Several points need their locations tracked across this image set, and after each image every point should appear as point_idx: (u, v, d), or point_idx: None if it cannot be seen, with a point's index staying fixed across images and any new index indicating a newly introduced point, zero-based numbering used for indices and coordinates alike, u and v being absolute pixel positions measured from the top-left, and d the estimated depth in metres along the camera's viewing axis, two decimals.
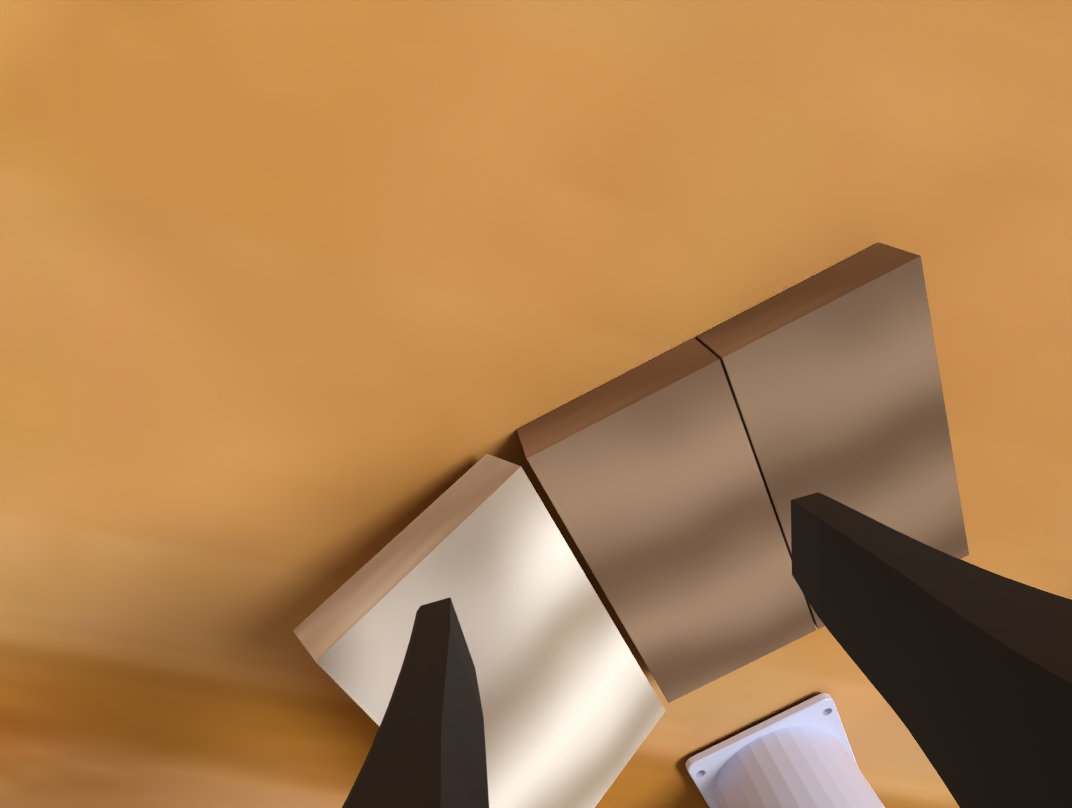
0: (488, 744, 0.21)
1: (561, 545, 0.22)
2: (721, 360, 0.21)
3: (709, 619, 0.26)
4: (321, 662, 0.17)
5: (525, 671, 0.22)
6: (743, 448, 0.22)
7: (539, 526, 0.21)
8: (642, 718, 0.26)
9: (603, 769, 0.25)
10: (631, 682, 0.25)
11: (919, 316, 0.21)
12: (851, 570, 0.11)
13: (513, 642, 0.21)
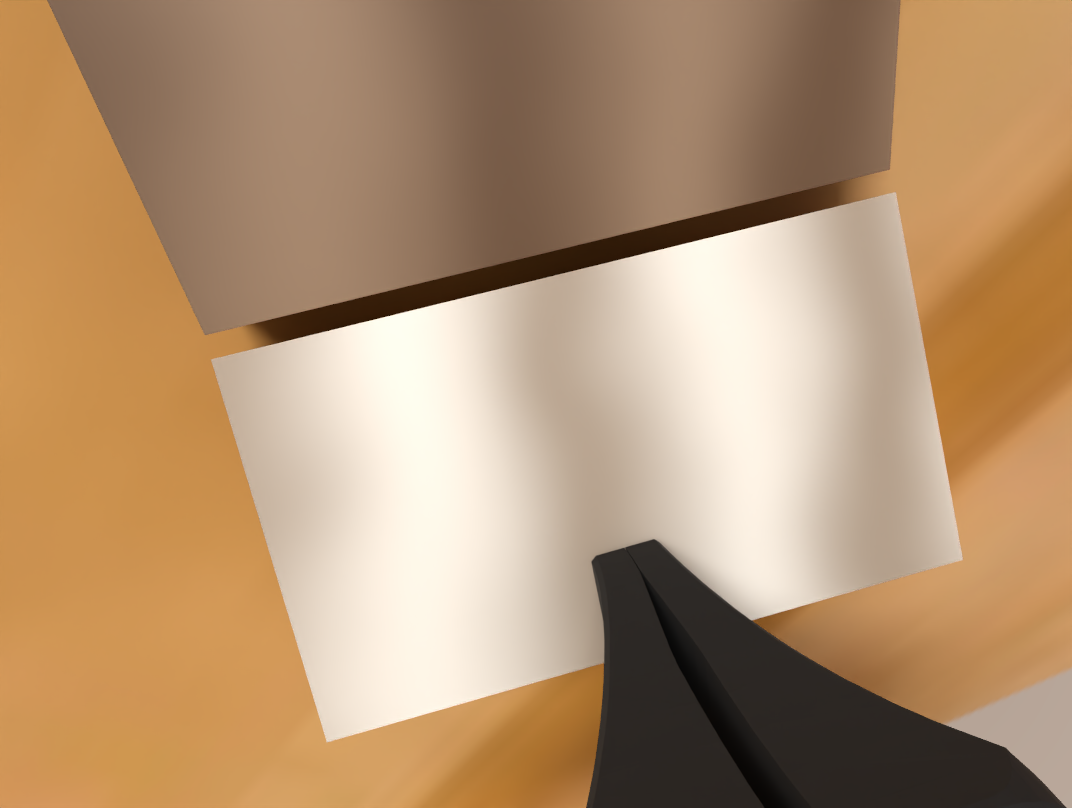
0: None
1: (394, 325, 0.13)
2: None
3: (718, 37, 0.12)
4: (332, 736, 0.13)
5: (571, 463, 0.13)
6: None
7: (334, 358, 0.12)
8: (861, 254, 0.13)
9: (881, 372, 0.14)
10: (766, 256, 0.13)
11: None
12: (665, 626, 0.11)
13: (504, 467, 0.13)
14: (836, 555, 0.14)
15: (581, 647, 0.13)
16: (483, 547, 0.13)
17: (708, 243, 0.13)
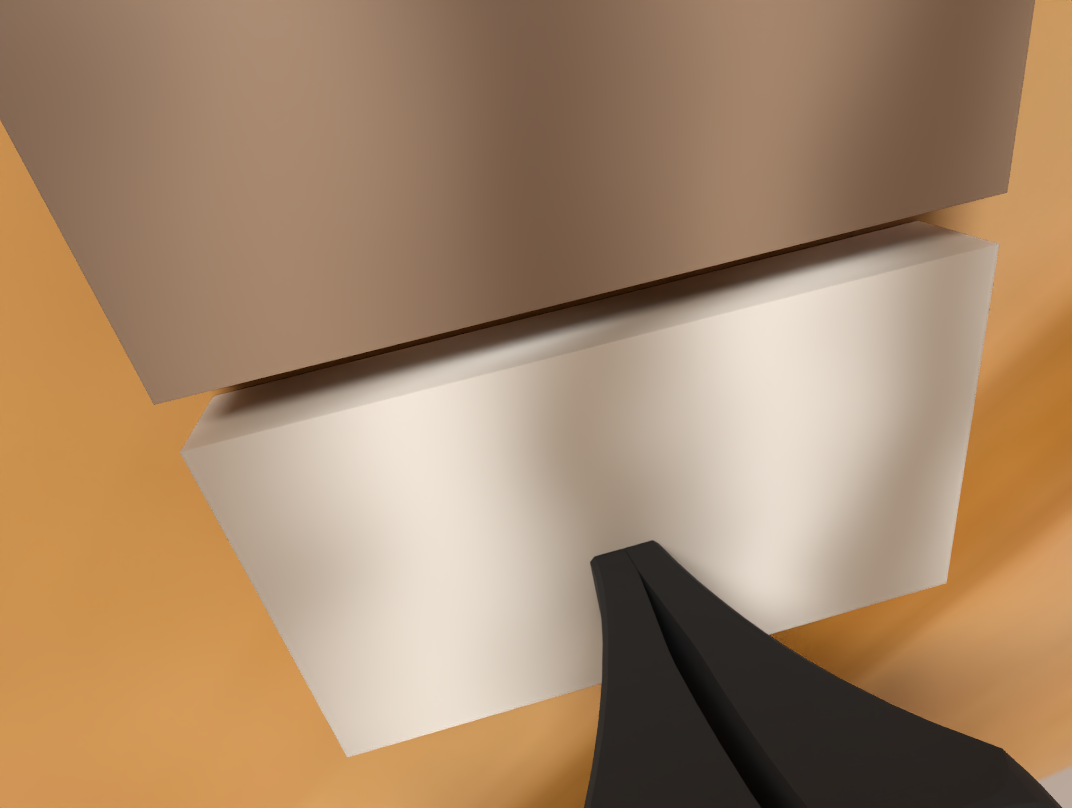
0: None
1: (401, 407, 0.10)
2: None
3: (810, 26, 0.09)
4: (351, 753, 0.14)
5: (594, 529, 0.12)
6: None
7: (332, 444, 0.11)
8: (940, 314, 0.12)
9: (923, 431, 0.13)
10: (838, 319, 0.11)
11: None
12: (663, 627, 0.11)
13: (523, 537, 0.12)
14: (835, 587, 0.14)
15: (588, 672, 0.14)
16: (499, 605, 0.13)
17: (777, 307, 0.11)
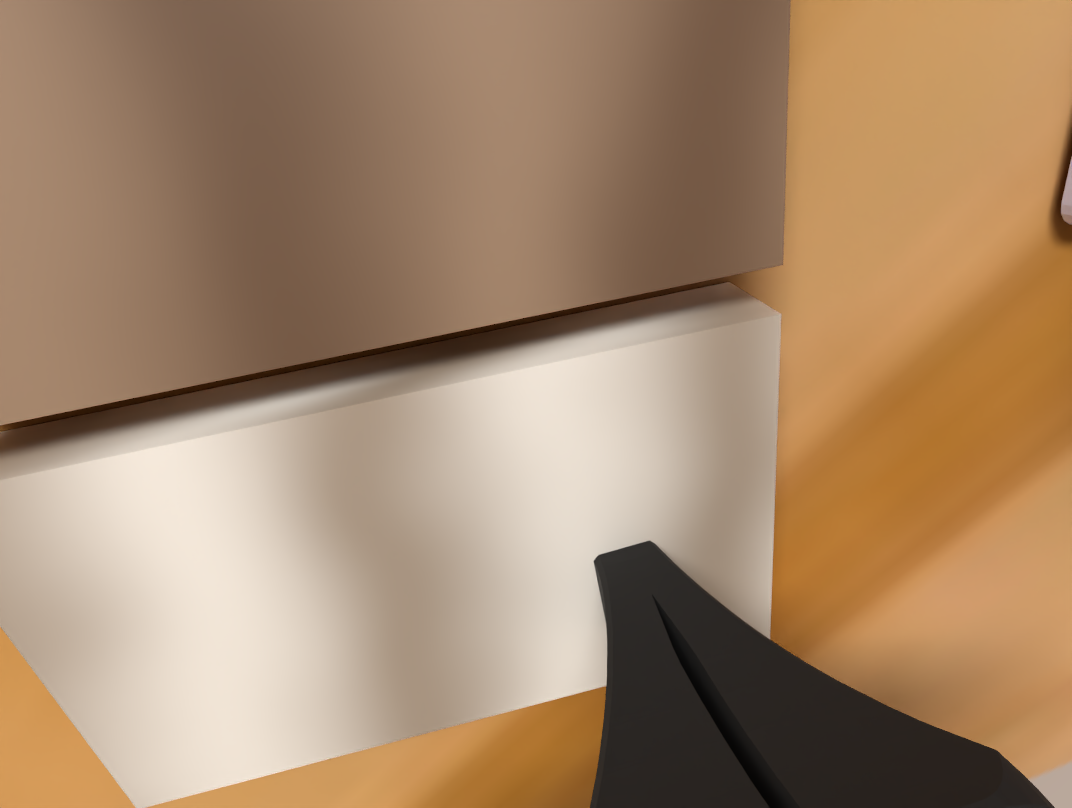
0: (456, 660, 0.13)
1: (151, 460, 0.10)
2: None
3: (551, 96, 0.09)
4: (141, 805, 0.13)
5: (381, 585, 0.12)
6: None
7: (77, 495, 0.10)
8: (728, 380, 0.11)
9: (725, 495, 0.13)
10: (619, 382, 0.11)
11: None
12: None
13: (305, 592, 0.12)
14: None
15: (394, 726, 0.14)
16: (287, 659, 0.12)
17: (550, 370, 0.11)
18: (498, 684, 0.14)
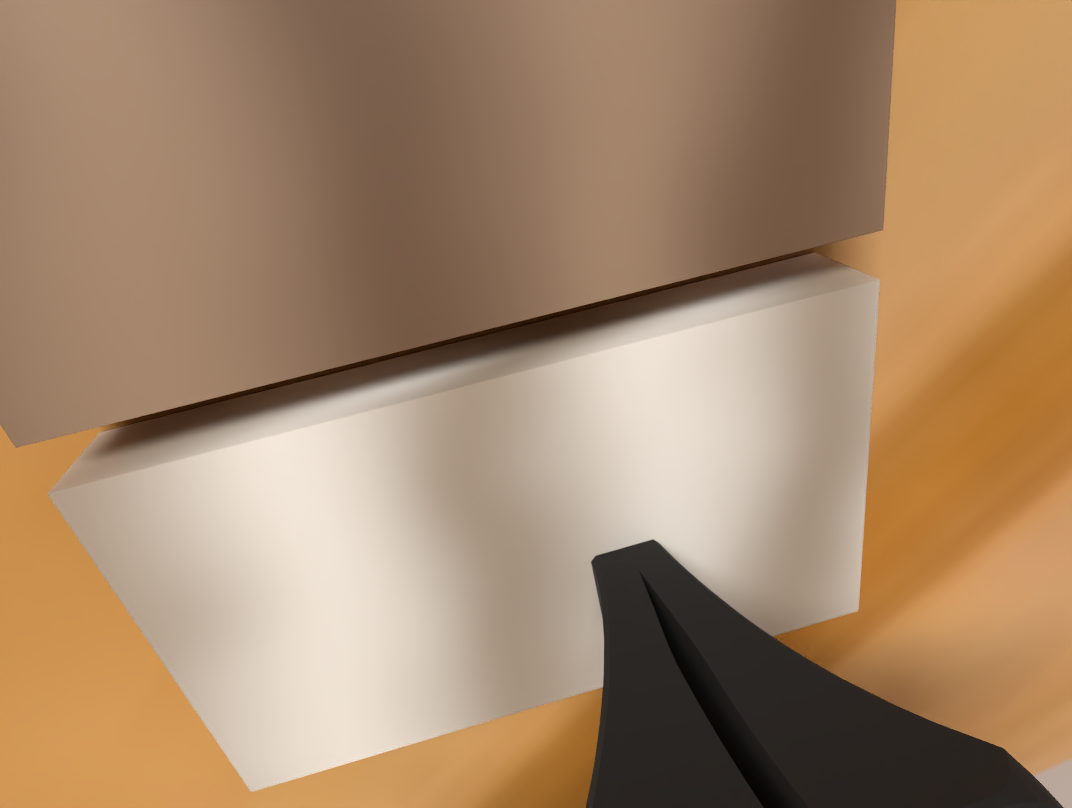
0: (556, 636, 0.13)
1: (275, 446, 0.10)
2: None
3: (664, 70, 0.09)
4: (255, 788, 0.14)
5: (487, 564, 0.12)
6: None
7: (206, 484, 0.10)
8: (826, 348, 0.12)
9: (820, 463, 0.13)
10: (720, 354, 0.11)
11: None
12: (664, 627, 0.11)
13: (415, 573, 0.12)
14: None
15: (495, 704, 0.14)
16: (396, 639, 0.13)
17: (656, 344, 0.11)
18: (595, 659, 0.14)
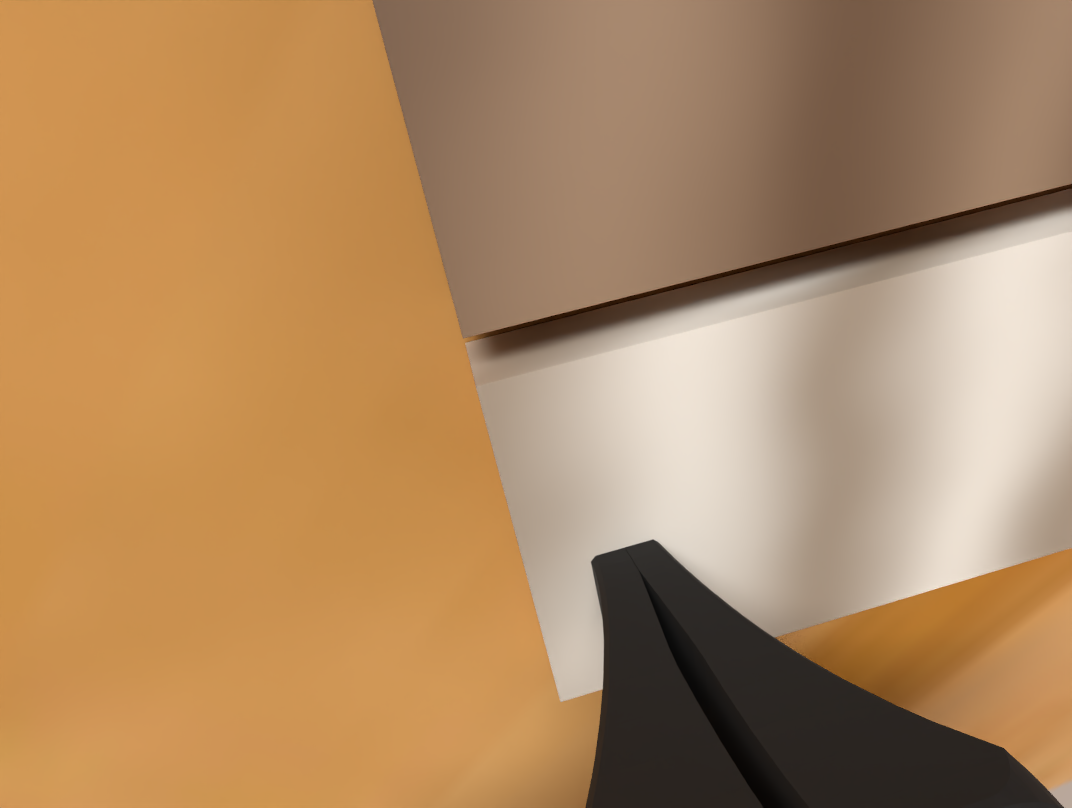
0: (862, 549, 0.14)
1: (679, 344, 0.11)
2: None
3: None
4: (565, 697, 0.14)
5: (824, 471, 0.13)
6: None
7: (611, 380, 0.11)
8: None
9: None
10: None
11: None
12: (664, 627, 0.11)
13: (760, 478, 0.13)
14: (1026, 534, 0.15)
15: (791, 618, 0.15)
16: (726, 547, 0.13)
17: (1027, 249, 0.11)
18: (888, 575, 0.14)
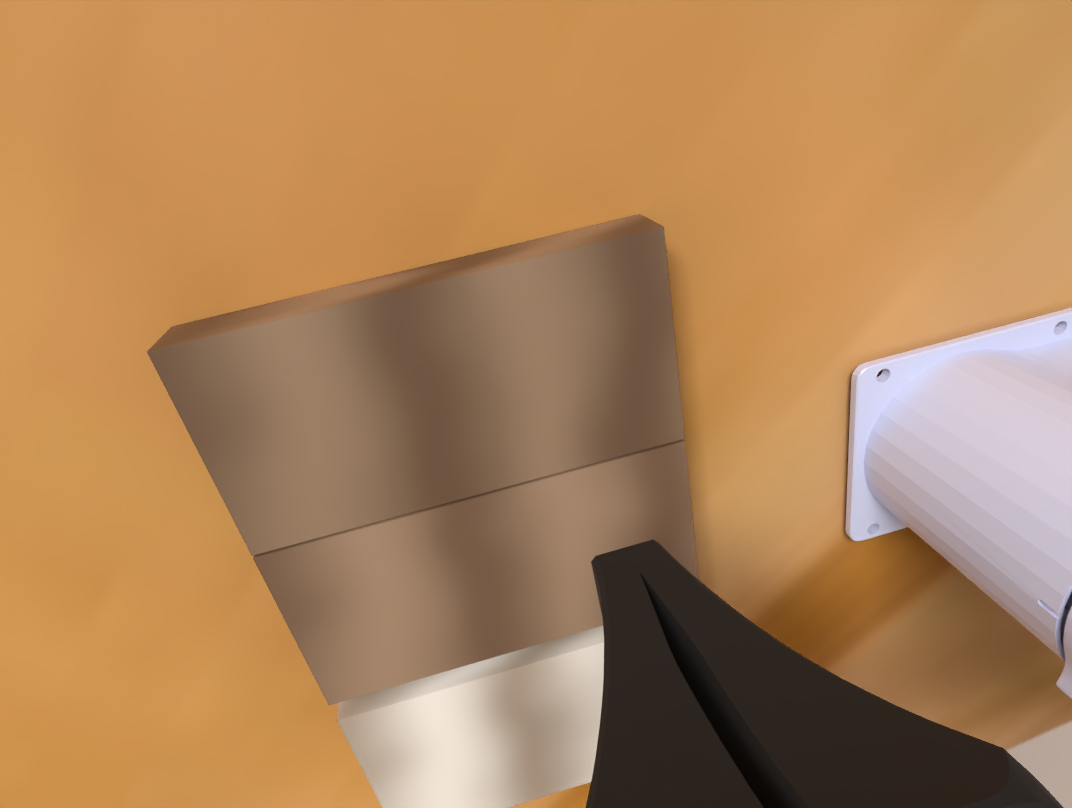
0: (555, 763, 0.27)
1: (432, 696, 0.24)
2: (259, 549, 0.20)
3: None
4: None
5: (522, 734, 0.26)
6: (372, 533, 0.20)
7: (401, 712, 0.24)
8: None
9: None
10: None
11: (232, 345, 0.17)
12: (664, 627, 0.11)
13: (488, 740, 0.25)
14: None
15: (524, 795, 0.27)
16: (477, 768, 0.26)
17: (599, 646, 0.24)
18: (575, 773, 0.27)
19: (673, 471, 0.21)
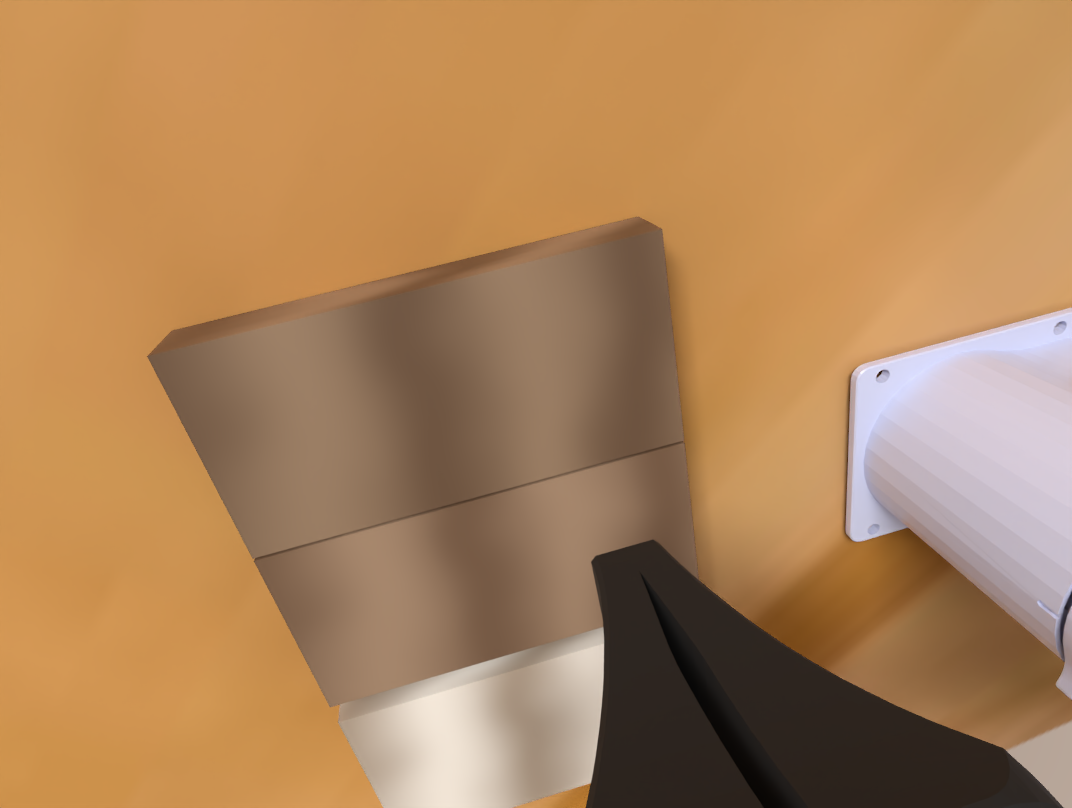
0: (556, 764, 0.27)
1: (433, 698, 0.24)
2: (260, 552, 0.20)
3: None
4: None
5: (523, 735, 0.26)
6: (372, 535, 0.20)
7: (402, 714, 0.24)
8: None
9: None
10: None
11: (232, 349, 0.17)
12: (663, 627, 0.11)
13: (489, 741, 0.25)
14: None
15: (525, 796, 0.27)
16: (478, 769, 0.26)
17: (600, 647, 0.24)
18: (576, 774, 0.27)
19: (673, 473, 0.21)
